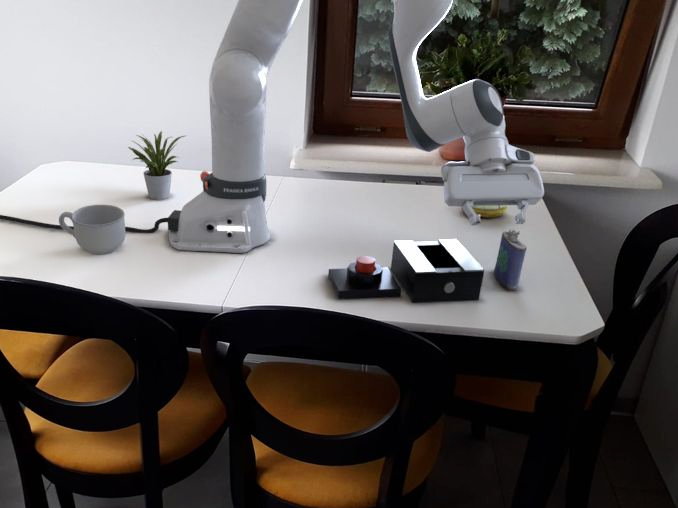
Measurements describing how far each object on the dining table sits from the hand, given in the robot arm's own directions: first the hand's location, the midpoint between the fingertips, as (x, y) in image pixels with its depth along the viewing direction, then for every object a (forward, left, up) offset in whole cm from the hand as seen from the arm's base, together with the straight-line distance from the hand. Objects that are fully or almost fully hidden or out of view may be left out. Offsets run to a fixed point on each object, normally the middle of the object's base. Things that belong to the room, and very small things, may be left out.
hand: (498, 223), depth 142 cm
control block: (-29, -8, -9) cm, 31 cm away
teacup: (-82, +16, -9) cm, 84 cm away
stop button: (-29, -8, -6) cm, 30 cm away
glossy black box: (-15, -8, -9) cm, 19 cm away
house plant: (-68, +50, -9) cm, 85 cm away
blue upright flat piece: (0, -7, -9) cm, 12 cm away
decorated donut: (+11, +32, -9) cm, 35 cm away
